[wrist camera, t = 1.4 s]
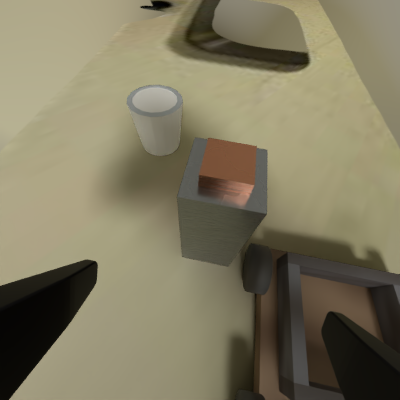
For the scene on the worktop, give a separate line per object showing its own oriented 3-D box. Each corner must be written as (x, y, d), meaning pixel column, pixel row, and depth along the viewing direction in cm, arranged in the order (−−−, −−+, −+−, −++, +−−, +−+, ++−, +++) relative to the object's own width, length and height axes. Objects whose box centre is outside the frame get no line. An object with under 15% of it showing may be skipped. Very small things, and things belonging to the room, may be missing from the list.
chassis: (474, 537, 13) (595, 627, 9) (228, 472, 13) (244, 529, 10) (392, 278, 21) (436, 269, 17) (244, 248, 22) (256, 233, 18)
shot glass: (143, 163, 28) (131, 120, 22) (134, 132, 31) (122, 87, 25) (189, 153, 29) (190, 110, 23) (176, 124, 33) (174, 80, 27)
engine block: (228, 266, 21) (273, 204, 10) (182, 257, 21) (176, 186, 10) (232, 224, 23) (272, 138, 12) (191, 216, 24) (195, 124, 13)
